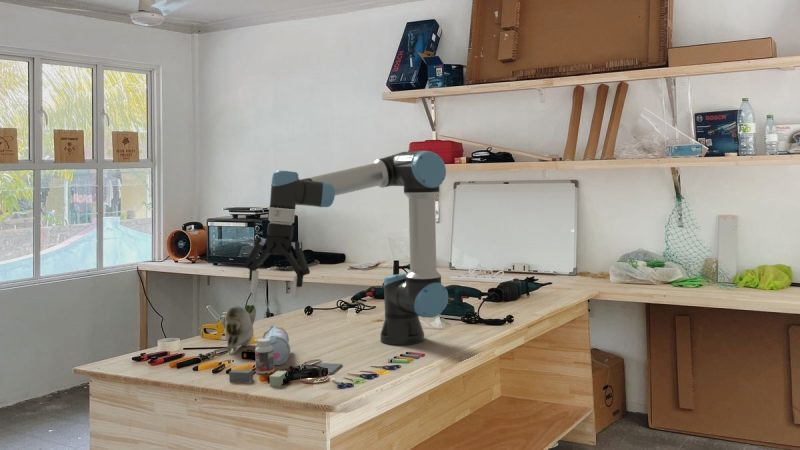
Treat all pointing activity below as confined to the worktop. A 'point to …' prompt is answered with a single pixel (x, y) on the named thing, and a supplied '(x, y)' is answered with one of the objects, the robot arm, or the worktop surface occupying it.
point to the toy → (239, 325)
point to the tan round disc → (312, 380)
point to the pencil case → (278, 343)
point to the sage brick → (277, 378)
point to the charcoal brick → (241, 375)
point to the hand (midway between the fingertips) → (274, 295)
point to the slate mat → (330, 367)
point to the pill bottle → (264, 356)
